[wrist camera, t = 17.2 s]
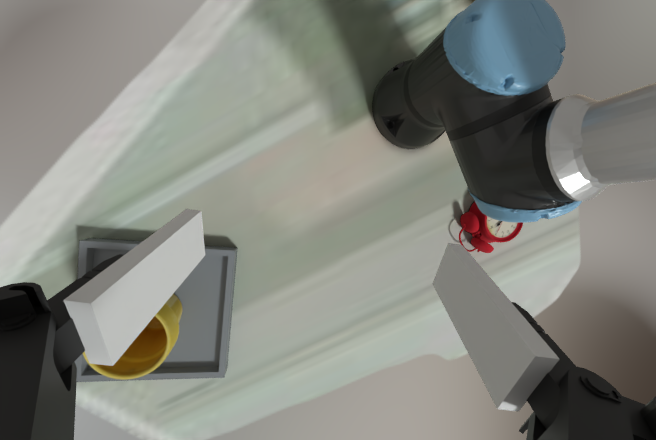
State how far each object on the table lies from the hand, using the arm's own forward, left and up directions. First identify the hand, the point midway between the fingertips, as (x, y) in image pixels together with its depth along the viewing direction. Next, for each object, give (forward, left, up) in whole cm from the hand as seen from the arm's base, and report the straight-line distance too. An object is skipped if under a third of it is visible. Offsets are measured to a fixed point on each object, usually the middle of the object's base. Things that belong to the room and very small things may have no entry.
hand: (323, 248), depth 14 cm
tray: (+20, +18, -33) cm, 42 cm away
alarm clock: (-40, -2, -33) cm, 52 cm away
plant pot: (+20, +18, -32) cm, 42 cm away
